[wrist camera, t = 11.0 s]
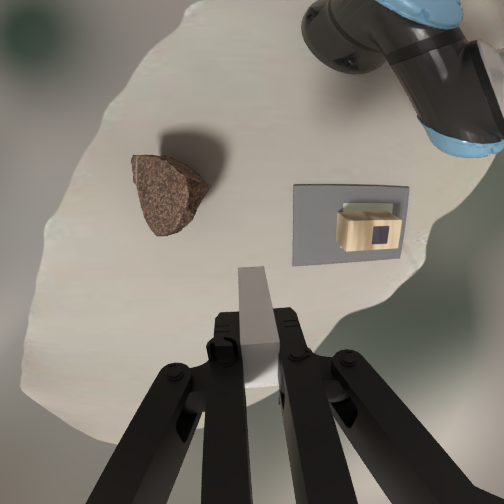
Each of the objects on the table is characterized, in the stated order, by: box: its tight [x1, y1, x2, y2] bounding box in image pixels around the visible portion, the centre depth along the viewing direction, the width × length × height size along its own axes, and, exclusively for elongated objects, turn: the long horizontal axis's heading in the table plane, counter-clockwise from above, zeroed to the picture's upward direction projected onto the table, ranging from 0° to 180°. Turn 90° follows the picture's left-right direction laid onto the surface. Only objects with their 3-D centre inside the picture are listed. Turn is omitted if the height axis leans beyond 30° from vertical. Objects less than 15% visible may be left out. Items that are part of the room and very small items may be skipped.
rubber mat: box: [292, 185, 409, 266], centre depth 45 cm, size 22×14×1 cm, turn 92°
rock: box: [131, 155, 209, 236], centre depth 36 cm, size 12×10×10 cm
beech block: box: [336, 212, 402, 252], centre depth 43 cm, size 5×5×10 cm
